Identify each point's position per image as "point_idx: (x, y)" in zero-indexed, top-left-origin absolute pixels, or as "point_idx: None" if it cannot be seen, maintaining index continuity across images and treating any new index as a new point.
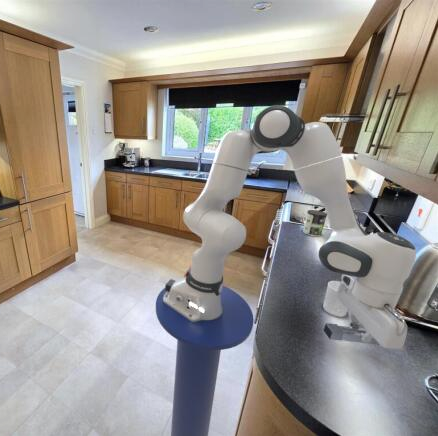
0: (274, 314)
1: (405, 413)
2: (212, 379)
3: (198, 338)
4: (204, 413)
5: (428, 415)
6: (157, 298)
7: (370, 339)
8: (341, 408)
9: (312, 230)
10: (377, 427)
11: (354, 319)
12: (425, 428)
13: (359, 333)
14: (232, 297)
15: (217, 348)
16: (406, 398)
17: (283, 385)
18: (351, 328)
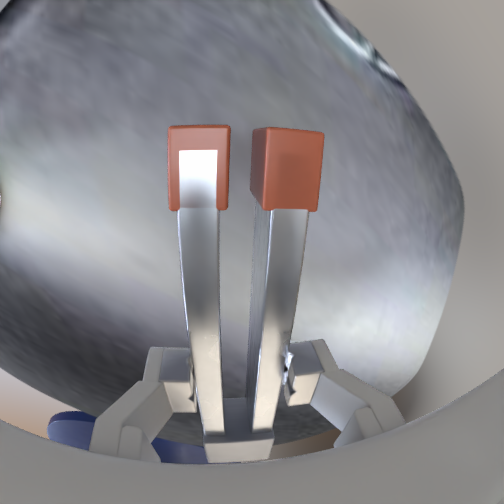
0: (99, 408)
1: (437, 231)
2: None
3: None
4: None
5: (446, 169)
6: None
7: (330, 356)
8: (396, 362)
9: None
10: (436, 315)
11: (156, 419)
12: (461, 212)
13: (259, 378)
14: (76, 434)
15: (240, 462)
16: (411, 186)
17: (336, 427)
18: (213, 397)
